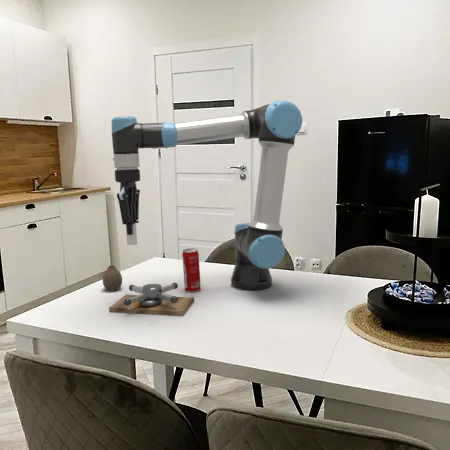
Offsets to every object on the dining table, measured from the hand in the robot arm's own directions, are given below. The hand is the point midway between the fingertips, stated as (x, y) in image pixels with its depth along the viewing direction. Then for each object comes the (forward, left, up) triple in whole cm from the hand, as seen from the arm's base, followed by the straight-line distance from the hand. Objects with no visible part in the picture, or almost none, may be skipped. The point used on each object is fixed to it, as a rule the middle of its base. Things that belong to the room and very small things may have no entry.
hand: (132, 244), depth 142 cm
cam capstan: (-5, -1, -19) cm, 20 cm away
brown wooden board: (-5, -1, -21) cm, 21 cm away
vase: (+16, -17, -21) cm, 31 cm away
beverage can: (-13, -20, -21) cm, 32 cm away
